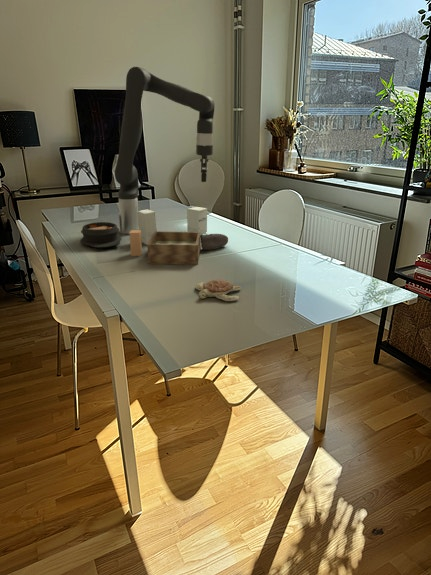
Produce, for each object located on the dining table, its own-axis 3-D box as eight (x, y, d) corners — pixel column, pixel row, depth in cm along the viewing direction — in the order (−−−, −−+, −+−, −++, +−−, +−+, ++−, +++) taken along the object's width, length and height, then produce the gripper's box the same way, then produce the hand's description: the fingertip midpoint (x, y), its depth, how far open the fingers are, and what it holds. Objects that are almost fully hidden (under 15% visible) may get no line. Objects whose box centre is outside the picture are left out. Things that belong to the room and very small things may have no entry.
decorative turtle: (180, 293, 142) (180, 279, 141) (215, 281, 153) (215, 268, 151) (218, 310, 131) (218, 295, 129) (253, 295, 141) (254, 281, 139)
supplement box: (198, 235, 208) (198, 210, 203) (186, 233, 212) (186, 208, 208) (207, 232, 214) (207, 208, 209) (196, 230, 218) (196, 206, 213)
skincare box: (157, 243, 195) (156, 211, 189) (146, 245, 192) (144, 213, 186) (150, 239, 201) (148, 208, 196) (138, 241, 198) (136, 210, 193)
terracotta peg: (131, 255, 178) (129, 232, 174) (132, 252, 182) (131, 230, 178) (140, 255, 178) (139, 232, 174) (142, 252, 182) (140, 230, 178)
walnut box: (148, 263, 169) (147, 244, 166) (155, 248, 187) (154, 231, 184) (198, 264, 169) (197, 245, 166) (200, 249, 187) (200, 232, 184)
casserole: (75, 239, 200) (73, 222, 197) (113, 234, 209) (112, 218, 205) (87, 253, 180) (85, 234, 177) (129, 248, 188) (128, 229, 185)
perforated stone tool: (225, 244, 195) (225, 230, 192) (231, 247, 190) (231, 232, 188) (196, 249, 188) (196, 234, 185) (202, 252, 183) (202, 237, 181)
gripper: (196, 142, 197) (196, 178, 203) (195, 144, 184) (195, 182, 190) (212, 143, 197) (211, 178, 203) (212, 145, 184) (211, 183, 190)
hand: (203, 180), depth 196 cm, fingers open, 8 cm apart
